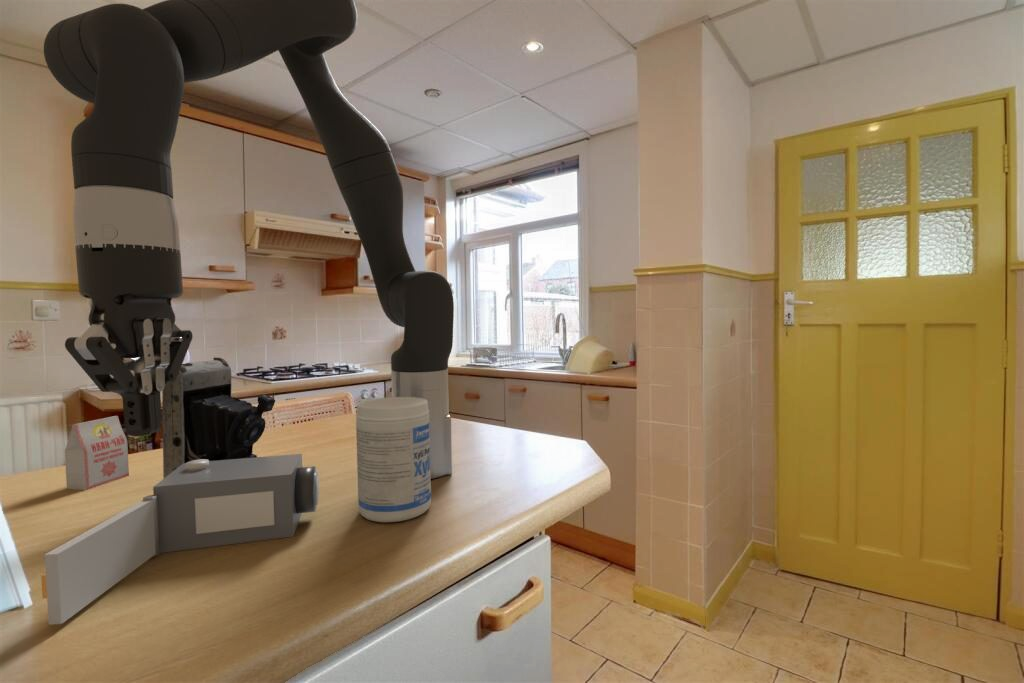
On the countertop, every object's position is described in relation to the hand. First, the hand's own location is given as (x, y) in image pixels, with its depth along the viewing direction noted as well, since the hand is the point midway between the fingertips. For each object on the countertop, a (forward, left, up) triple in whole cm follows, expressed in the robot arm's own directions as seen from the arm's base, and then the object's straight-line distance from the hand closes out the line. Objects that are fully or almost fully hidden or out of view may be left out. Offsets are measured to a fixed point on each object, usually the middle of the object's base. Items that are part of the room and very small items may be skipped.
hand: (144, 433), depth 45 cm
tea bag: (+22, -39, -16) cm, 48 cm away
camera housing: (-5, -13, -15) cm, 21 cm away
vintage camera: (0, -28, -16) cm, 32 cm away
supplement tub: (-23, -13, -16) cm, 31 cm away
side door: (+4, -2, -15) cm, 16 cm away
